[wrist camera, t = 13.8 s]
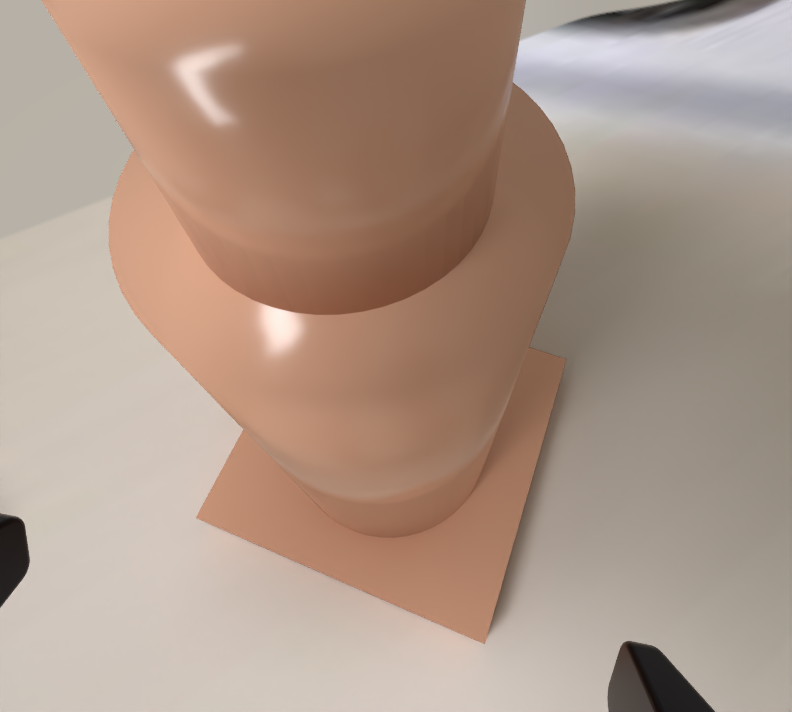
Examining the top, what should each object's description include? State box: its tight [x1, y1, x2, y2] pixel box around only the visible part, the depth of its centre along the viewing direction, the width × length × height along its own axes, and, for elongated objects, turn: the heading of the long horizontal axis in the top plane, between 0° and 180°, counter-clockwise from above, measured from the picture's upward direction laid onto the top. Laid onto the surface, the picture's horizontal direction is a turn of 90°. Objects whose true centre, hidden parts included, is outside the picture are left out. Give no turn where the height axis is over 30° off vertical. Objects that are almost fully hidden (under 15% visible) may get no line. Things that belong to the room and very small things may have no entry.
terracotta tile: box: [196, 347, 566, 644], centre depth 17 cm, size 9×9×1 cm
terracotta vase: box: [42, 0, 575, 538], centre depth 11 cm, size 6×6×14 cm
